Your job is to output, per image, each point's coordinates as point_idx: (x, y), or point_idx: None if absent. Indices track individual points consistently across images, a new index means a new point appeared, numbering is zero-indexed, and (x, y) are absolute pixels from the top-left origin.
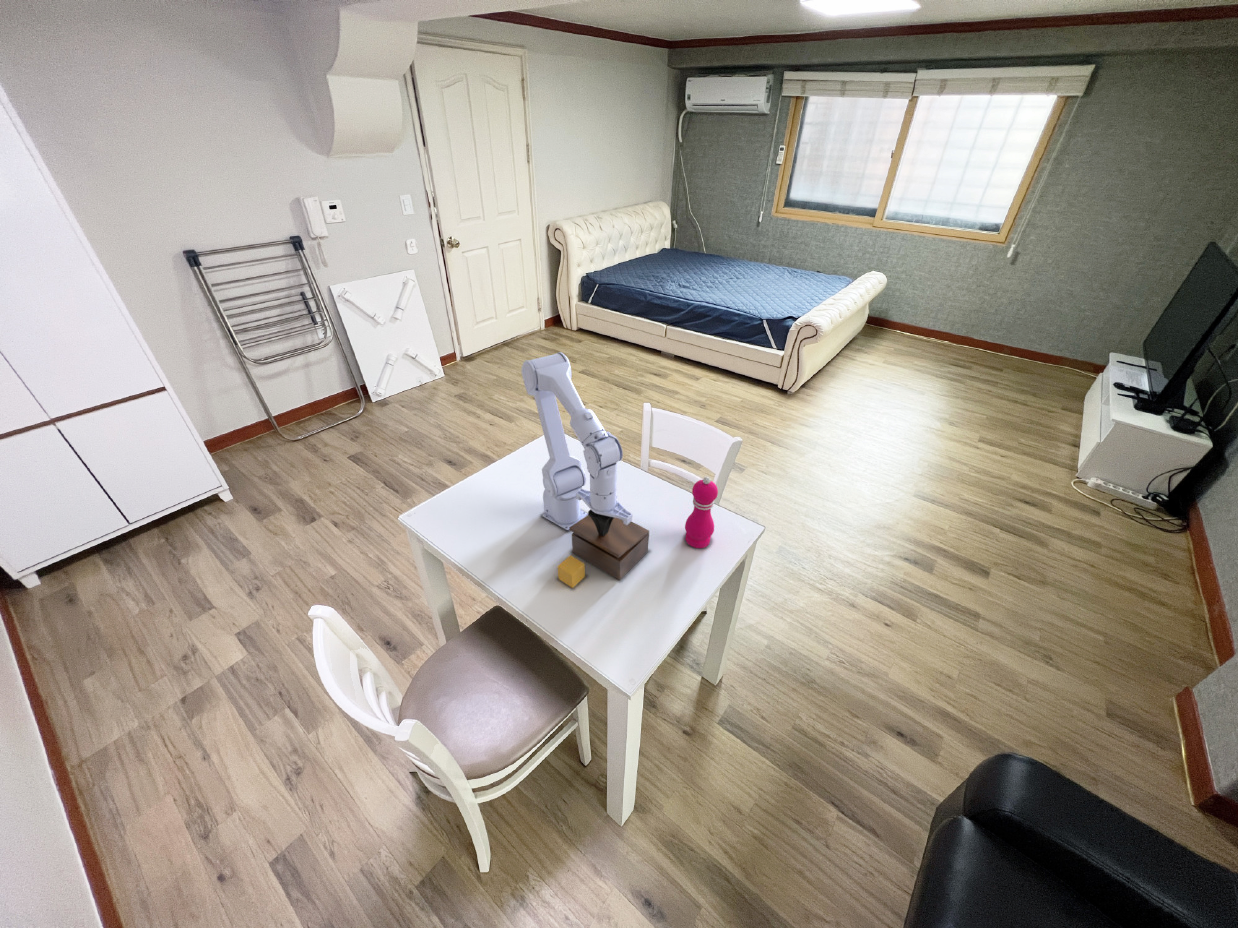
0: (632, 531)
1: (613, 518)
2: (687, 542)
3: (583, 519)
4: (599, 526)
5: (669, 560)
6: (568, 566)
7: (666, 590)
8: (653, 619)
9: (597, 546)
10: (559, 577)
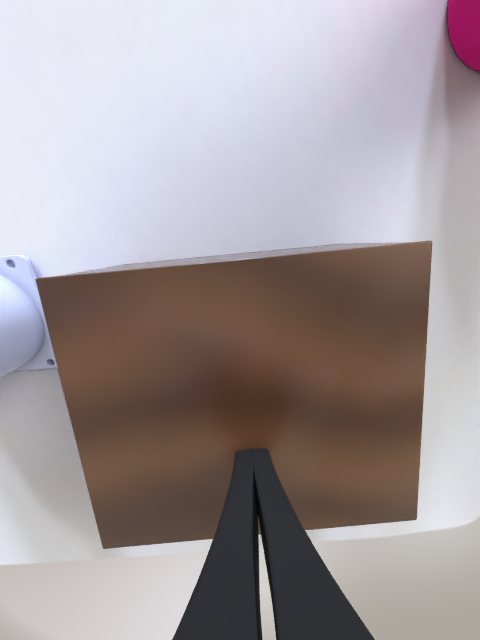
0: (357, 332)
1: (338, 588)
2: (474, 64)
3: (89, 460)
4: (258, 581)
5: (431, 222)
6: None
7: (469, 332)
8: (469, 417)
9: None
10: None
